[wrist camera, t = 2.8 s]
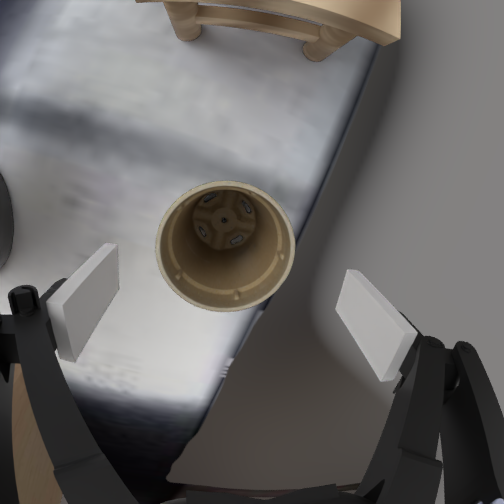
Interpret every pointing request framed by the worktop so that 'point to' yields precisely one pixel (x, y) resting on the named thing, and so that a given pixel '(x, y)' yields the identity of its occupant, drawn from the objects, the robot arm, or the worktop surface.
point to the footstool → (294, 20)
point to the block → (30, 451)
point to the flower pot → (225, 246)
